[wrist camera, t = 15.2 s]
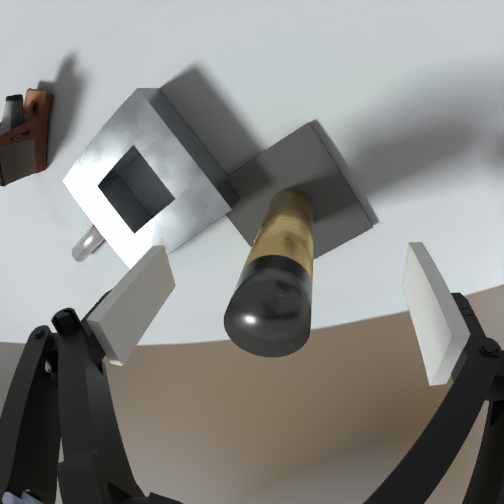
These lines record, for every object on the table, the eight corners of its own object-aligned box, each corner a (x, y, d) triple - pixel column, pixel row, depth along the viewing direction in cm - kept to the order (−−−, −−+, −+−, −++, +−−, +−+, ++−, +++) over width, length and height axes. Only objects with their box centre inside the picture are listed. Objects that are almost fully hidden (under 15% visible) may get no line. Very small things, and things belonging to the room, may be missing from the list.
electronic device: (56, 89, 23) (3, 98, 16) (49, 170, 27) (1, 193, 21) (34, 87, 23) (-16, 96, 16) (28, 162, 28) (-17, 183, 21)
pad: (308, 122, 21) (308, 122, 20) (371, 224, 24) (373, 227, 23) (210, 189, 25) (207, 191, 25) (276, 275, 28) (275, 279, 28)
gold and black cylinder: (267, 189, 24) (216, 292, 12) (312, 187, 23) (310, 293, 11) (271, 230, 25) (231, 354, 13) (313, 229, 24) (309, 358, 12)
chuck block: (158, 88, 21) (137, 88, 18) (242, 195, 25) (231, 209, 22) (55, 212, 30) (36, 224, 27) (115, 287, 33) (99, 304, 30)
